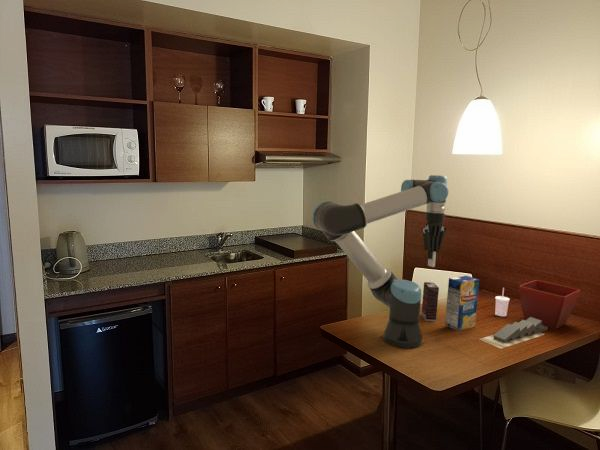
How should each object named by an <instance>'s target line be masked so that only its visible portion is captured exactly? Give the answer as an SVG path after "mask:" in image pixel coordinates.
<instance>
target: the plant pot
mask: <svg viewBox="0 0 600 450" xmlns="http://www.w3.org/2000/svg"><path fill="white" fill-rule="evenodd" d="M580 293H581V290H580V289H578V288H574V287H570V286H565V285H562V284H556V283H553V282H548V281H545V280H539V279H535V280H532V281H529V282H527V283H523V284H521V285H519V299H520V306H521V311H522V315H523V318H524V319H523V320H525V321H526V320H527V319H528V318H530V317H532V318H535V319H538V320H541V321H542V325H545V326H547V327H548V328H550V329H554V330H557V329H558V328H561V327H563V326H565V324H566V323H567V322H568V319H569V318H570V316H571V314H572V313H573V310H574V308H575V307H576V304H577V300H578V298H579V297H580V296H579V295H580Z"/></svg>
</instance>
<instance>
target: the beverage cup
mask: <svg viewBox="0 0 600 450" xmlns="http://www.w3.org/2000/svg"><path fill="white" fill-rule="evenodd" d="M504 292H505V287H502V295H497V296H495V298H494V299H495V309H494V310H495V312H494V314H495V316H499V317H507V313H508V308H509V302H510V298H509V297H507V296H504V294H505V293H504Z"/></svg>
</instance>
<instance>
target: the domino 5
mask: <svg viewBox="0 0 600 450" xmlns="http://www.w3.org/2000/svg"><path fill="white" fill-rule="evenodd" d="M548 329H549V327H547V326H545V325H542V324H541V325H540V326H539V327H538V328H537V329H535V330H534V331H533V332H532V333H534V334H535V333H539V332H540V333H543V332H545V331H548Z"/></svg>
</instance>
